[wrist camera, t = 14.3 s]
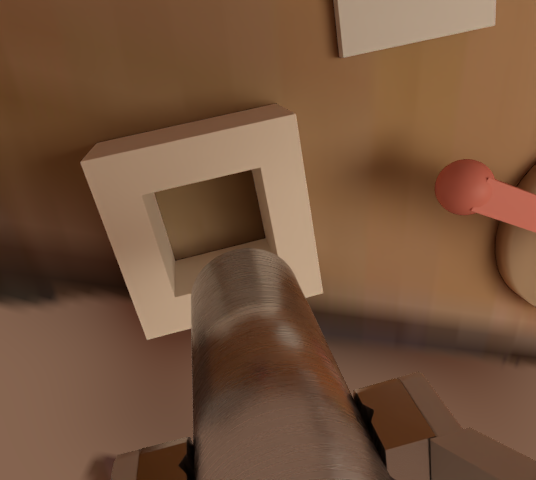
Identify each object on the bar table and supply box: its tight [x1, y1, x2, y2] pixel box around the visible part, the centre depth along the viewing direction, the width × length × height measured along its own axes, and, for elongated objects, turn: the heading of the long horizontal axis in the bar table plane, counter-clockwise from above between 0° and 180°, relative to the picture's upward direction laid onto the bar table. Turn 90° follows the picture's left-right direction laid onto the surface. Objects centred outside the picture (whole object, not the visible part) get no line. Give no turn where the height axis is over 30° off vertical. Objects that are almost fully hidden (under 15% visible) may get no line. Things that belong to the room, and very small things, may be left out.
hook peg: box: [191, 248, 392, 480], centre depth 11 cm, size 4×4×9 cm
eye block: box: [80, 103, 323, 340], centre depth 22 cm, size 9×9×4 cm
